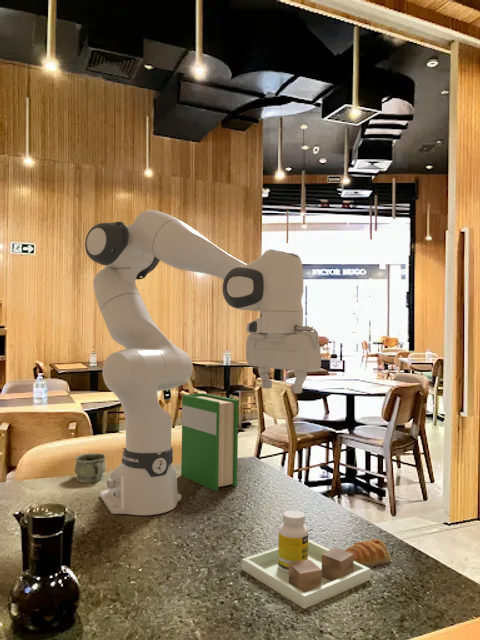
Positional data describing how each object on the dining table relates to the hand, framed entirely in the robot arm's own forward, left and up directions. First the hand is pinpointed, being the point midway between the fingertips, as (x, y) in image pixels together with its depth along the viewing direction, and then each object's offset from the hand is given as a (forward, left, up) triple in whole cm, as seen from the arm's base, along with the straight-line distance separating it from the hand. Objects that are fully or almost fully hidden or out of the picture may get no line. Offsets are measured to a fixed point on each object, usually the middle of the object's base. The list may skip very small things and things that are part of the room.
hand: (281, 390), depth 110 cm
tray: (+16, -8, -31) cm, 36 cm away
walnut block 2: (+20, -4, -30) cm, 37 cm away
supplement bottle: (+13, -8, -31) cm, 34 cm away
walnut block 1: (+20, -12, -30) cm, 38 cm away
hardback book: (-42, +10, -31) cm, 53 cm away
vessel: (-63, -17, -31) cm, 72 cm away
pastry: (+18, +6, -32) cm, 37 cm away
